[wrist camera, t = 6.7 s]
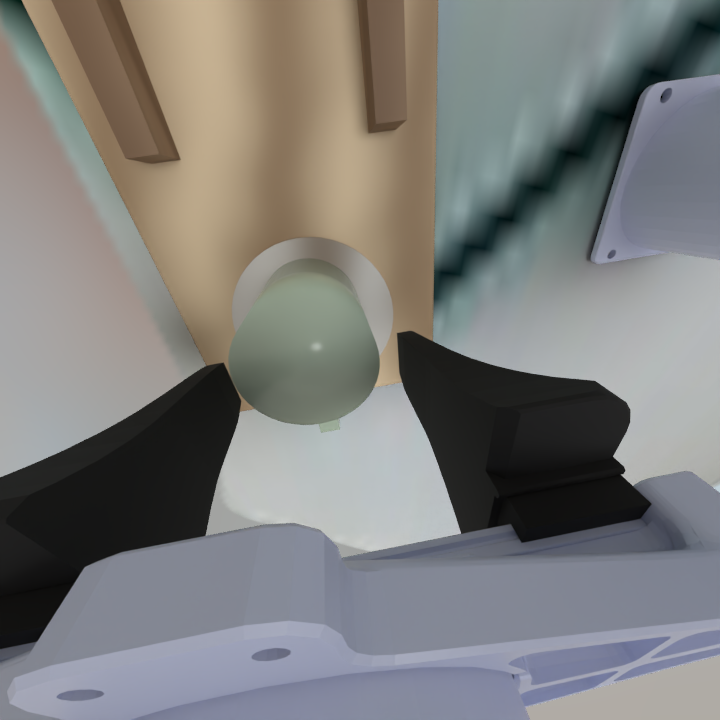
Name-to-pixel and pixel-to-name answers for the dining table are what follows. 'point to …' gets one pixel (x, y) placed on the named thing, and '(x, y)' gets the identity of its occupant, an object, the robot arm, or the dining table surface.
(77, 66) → the board
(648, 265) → the dining table surface
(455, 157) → the dining table surface
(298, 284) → the sage green cylinder
